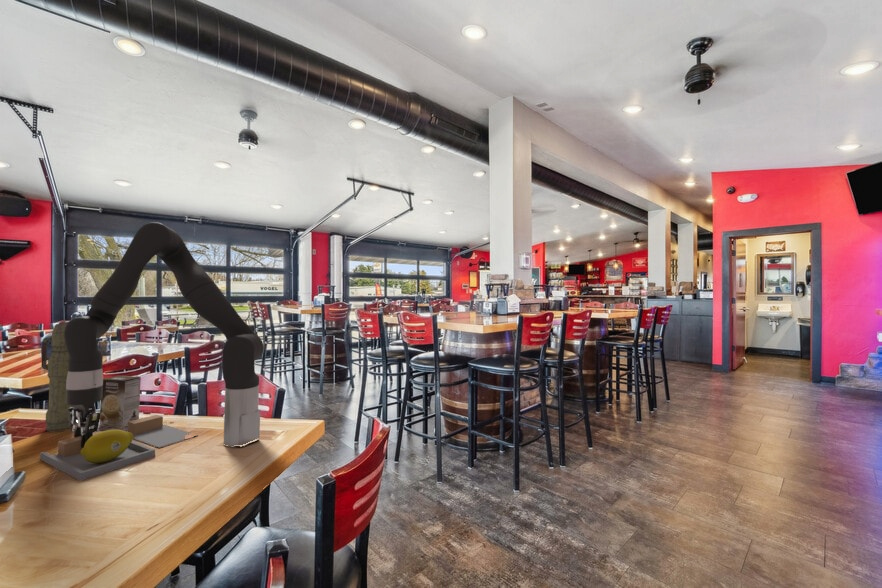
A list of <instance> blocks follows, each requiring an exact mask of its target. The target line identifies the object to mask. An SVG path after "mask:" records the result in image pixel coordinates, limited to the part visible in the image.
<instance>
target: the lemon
mask: <svg viewBox="0 0 882 588" xmlns="http://www.w3.org/2000/svg"><path fill="white" fill-rule="evenodd" d="M133 440H134V439H133V434H132V433H130V432H128V431H126V430H122V429H107V430H103V431H101V432H100V433H97V434H95V435H93V436H92V437H90V438H89V439H88V440H87V441H86V443H85V445H84V448H83V449H82V450H81V451H80V453H81V455H83V456H84V457H85V459H86V460H87V461H88V462H91V463H104V462H108V461H110V460H113V459H115V458H116V457H118V456H119V455H121V454H122V453H123V452H124V451H125V450H126V449H127V448H128V446H129V444H130V443H131V442H132V441H133Z"/></svg>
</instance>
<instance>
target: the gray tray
mask: <svg viewBox="0 0 882 588" xmlns="http://www.w3.org/2000/svg"><path fill="white" fill-rule="evenodd" d="M100 432H102V431H101V430H99V431H98V430H97V432H94V433H93V435H95V434H97V433H100ZM57 441H58V440H57ZM82 449H83V448H81V436H78V437H74V436H73V437H70V438H66V439H63V440H59V441H58V442H57V453H55V454H51V453H48V452H47V451H42V452H40V453H39V454H40V455H39V460H40V461H42V462H45V463H47V465H50V466H52V467H53V468H56V469H57V470H60V471H62V472H63V473H65V474H67V475H69V476H70V477H73V478H75V479H77V480H78V481H79V482H80V481H81V482H82V481H83V480H84V481H85V480H87V479H91V478H93V477H97V476H99V475H102V473H103V474H106V473H108V471H109V472H112V471H114V470H117V469H120V468H123V467H126V466H129V465H132V464H136V463H138V462H141V461H145V460H148V459H150V457H151V458H154V457H156V449H154V448H153V447H149V446H146V445H144V444H140V443H138V442H137V441H136V442H135V441H133V440H132V442H131V443H130V444H129V446H128V448H127V449H126V450H125V451H124V452H123V453H122V454H121V455H119V456H118V457H116V458H115V459H113V460H110V461H108V462H104V463H91V462H88V461H87V460H86V459H85V457H84V456H83V455H81V453H80V451H81V450H82ZM153 456H154V457H153ZM147 458H148V459H147ZM111 470H112V471H111ZM105 472H106V473H105Z"/></svg>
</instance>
